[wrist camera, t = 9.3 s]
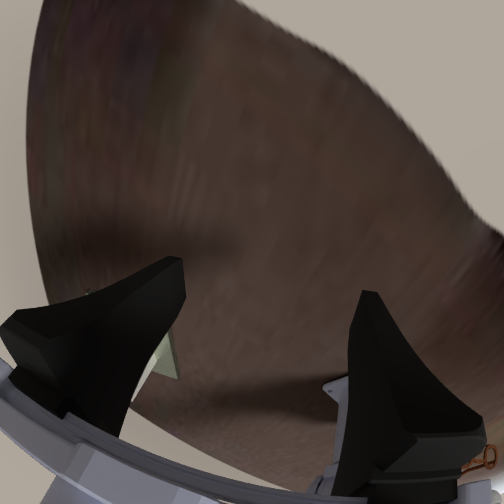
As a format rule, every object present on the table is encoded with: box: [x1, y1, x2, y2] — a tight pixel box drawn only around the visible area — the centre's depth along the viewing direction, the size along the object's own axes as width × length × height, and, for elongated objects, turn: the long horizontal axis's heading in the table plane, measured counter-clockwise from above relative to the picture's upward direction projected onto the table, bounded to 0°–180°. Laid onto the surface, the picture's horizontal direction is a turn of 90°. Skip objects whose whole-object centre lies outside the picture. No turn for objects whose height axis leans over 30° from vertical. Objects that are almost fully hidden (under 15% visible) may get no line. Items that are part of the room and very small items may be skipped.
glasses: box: [461, 445, 498, 476], centre depth 31 cm, size 13×13×5 cm
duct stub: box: [86, 289, 180, 379], centre depth 29 cm, size 10×10×4 cm
